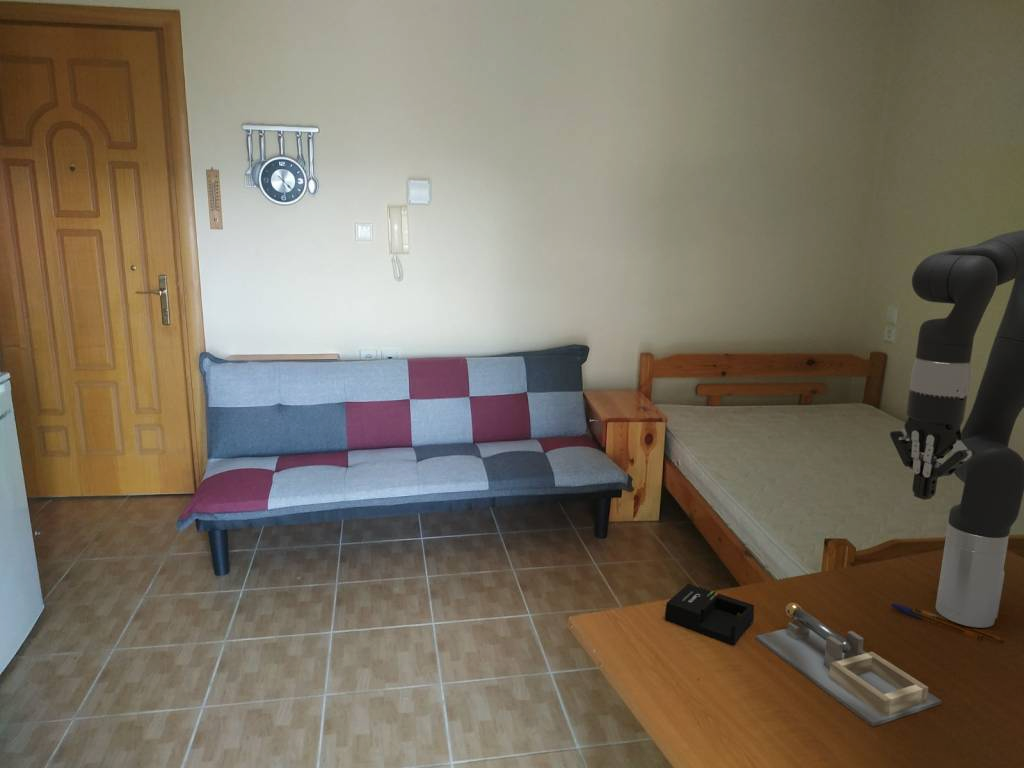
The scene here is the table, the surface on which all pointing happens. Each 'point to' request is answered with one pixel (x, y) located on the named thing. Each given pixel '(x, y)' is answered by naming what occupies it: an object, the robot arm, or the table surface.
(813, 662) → the grey mounting base
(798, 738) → the table surface
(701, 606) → the battery charger
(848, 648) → the metal lever
